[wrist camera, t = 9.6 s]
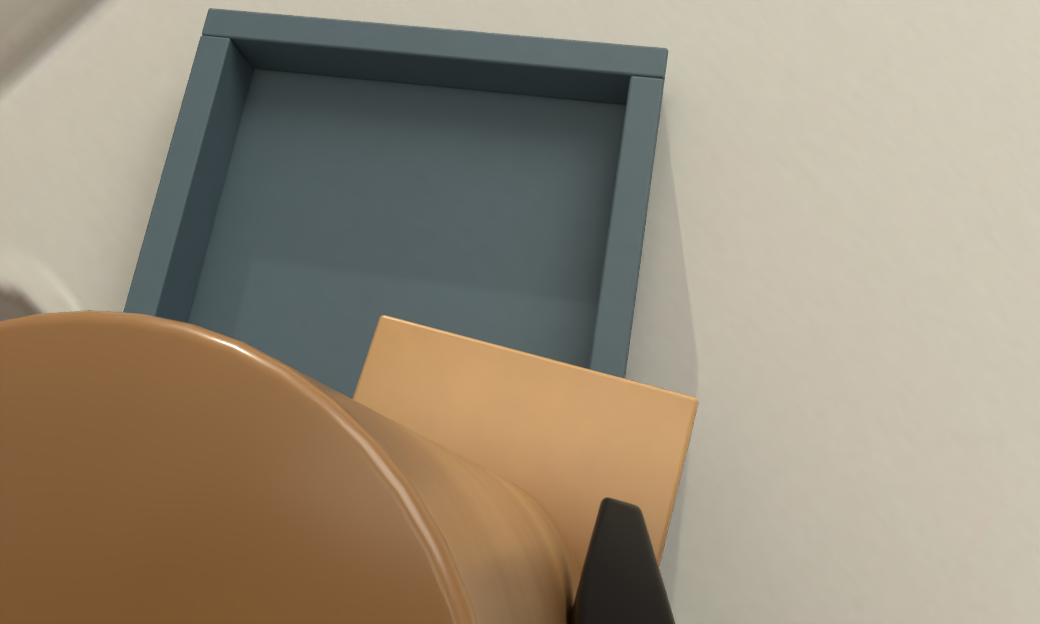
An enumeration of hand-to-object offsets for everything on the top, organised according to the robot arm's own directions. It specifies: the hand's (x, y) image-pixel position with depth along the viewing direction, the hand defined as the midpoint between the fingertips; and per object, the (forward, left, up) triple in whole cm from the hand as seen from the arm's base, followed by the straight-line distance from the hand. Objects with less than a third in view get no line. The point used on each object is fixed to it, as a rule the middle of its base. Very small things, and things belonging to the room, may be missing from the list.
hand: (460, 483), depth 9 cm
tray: (+4, +3, -10) cm, 11 cm away
